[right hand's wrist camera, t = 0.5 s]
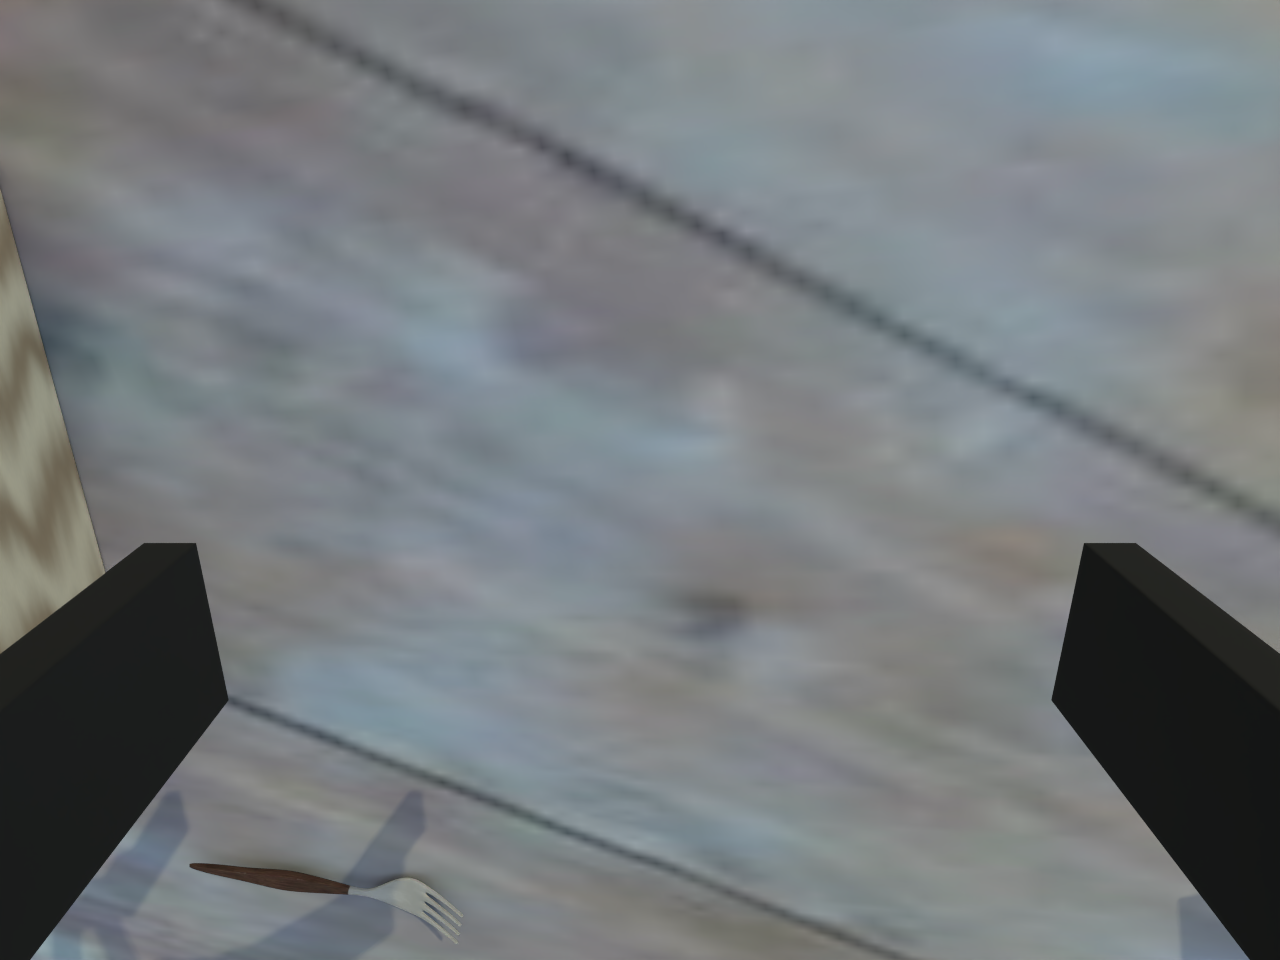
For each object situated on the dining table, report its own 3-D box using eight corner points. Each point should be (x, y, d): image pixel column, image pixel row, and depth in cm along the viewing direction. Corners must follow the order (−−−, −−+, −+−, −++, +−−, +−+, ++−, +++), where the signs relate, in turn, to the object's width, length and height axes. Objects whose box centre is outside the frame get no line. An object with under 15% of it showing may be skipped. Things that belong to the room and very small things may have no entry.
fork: (194, 840, 48) (176, 868, 46) (470, 885, 49) (463, 914, 47) (193, 875, 49) (175, 903, 47) (464, 918, 50) (457, 947, 48)
